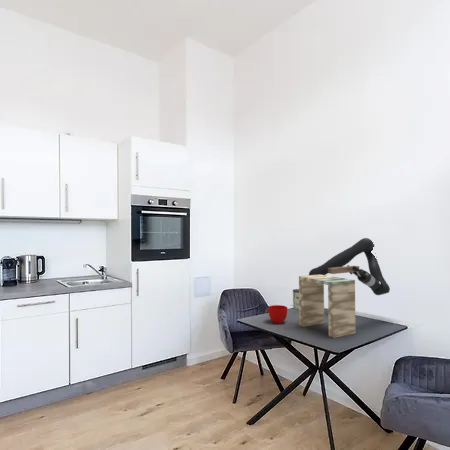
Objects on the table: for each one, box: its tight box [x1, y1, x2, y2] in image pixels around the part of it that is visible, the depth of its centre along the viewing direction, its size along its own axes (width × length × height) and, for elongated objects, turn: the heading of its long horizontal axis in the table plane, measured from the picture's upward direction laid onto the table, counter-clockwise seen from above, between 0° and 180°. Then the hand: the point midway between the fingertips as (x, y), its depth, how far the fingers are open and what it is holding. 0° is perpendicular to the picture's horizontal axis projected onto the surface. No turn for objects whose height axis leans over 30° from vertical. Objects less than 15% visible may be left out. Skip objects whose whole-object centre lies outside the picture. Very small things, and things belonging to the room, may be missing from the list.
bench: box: [298, 274, 357, 339], centre depth 216 cm, size 30×18×32 cm, turn 28°
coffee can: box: [292, 288, 299, 310], centre depth 274 cm, size 10×10×14 cm
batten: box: [328, 265, 360, 275], centre depth 214 cm, size 4×23×3 cm, turn 118°
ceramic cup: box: [267, 304, 288, 324], centre depth 235 cm, size 13×17×10 cm
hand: (350, 266), depth 217 cm, fingers closed on batten, 4 cm apart
